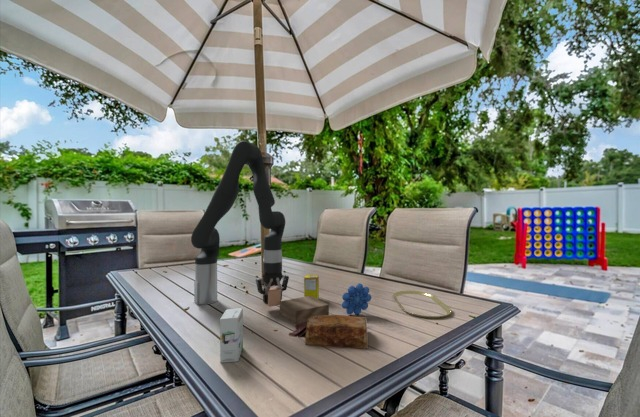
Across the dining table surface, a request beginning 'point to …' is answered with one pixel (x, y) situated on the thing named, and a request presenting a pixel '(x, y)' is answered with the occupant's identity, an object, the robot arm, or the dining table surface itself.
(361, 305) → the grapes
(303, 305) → the walnut block
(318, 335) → the cured meat
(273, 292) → the terracotta block
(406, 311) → the yellow oval ring
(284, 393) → the dining table surface
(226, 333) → the ink box
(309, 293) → the supplement box
